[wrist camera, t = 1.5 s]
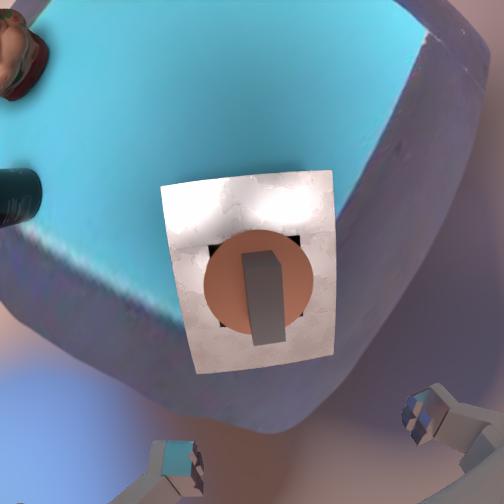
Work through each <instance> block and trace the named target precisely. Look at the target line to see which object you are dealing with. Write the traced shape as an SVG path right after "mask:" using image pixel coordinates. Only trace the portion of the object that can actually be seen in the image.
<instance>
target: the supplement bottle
mask: <svg viewBox="0 0 504 504" xmlns="http://www.w3.org/2000/svg"><path fill="white" fill-rule="evenodd" d="M40 200H41V187H40V182H39V180H38V177H37V176H36V174H35V173H34V172H33V171H31V170H29V169H0V229H1V228H4V227H7V226H11V225H14V224H18V223H21V222H25V221H27V220H29V219H31V218H32V217H33V216H34V215H35V213H36V212H37V210H38V208H39V205H40Z"/></svg>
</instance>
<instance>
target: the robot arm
mask: <svg viewBox="0 0 504 504" xmlns="http://www.w3.org/2000/svg"><path fill="white" fill-rule="evenodd" d="M406 404H407V405H406V406H405V408H404V409H403V410H402V413H401V421H402V423H403V426H404V427H405V429H407V430H410V431H411V435H410V436H411V437H412V439H413V440H414V442H415V443H416V444H417V446H418V445H421V444H423V443H425V442H427V441H429V440H431V439H433V438H434V440H436V441H438V442H440V443H442V444H444V445H446V446H449V447H451V448H453V449H455V450H457V451H459V452H462V453H464V454H465V455H464V457H463V458H462V459H461V460H460V462H459V466H460V467H461V469H462V470H463V471H464V473H465V474H464V475H463V476H461V477H460V478H459V479H457V480H455V481H454V482H452V483H451V484H450V485H448V486H446V487H445V488H443V489H442V490H440V491H438V492H437V493H435V494H433V495H432V496H430V497H428V498H426V499H424V500H423V501H421V502H419V503H417V504H504V414H503V413H499V412H495V411H491V410H487V409H483V408H479V407H476V406H471V405H468V404H464V403H461V404H459V403H458V402H457V401H456V400H455V399H454V398H453V397H452V396H451V394H450V393H449V392H448V391H447V390H446V389H445V388H444V387H443V386H442V385H441V384H439V383H436V384H434V385H432V386H430V387H428V388H425V389H423V390H421V391H419V392H416V393H414V394H412V395H409V397H407V399H406ZM203 474H204V462H203V457H202V455H201V453H200V452H199V451H198V446H197V444H196V442H195V441H162V440H161V441H160V440H154V442H153V443H152V448H151V452H150V457H149V462H148V468H147V473H146V474H142V475H141V476H140V477H139V478H138V479H136V480H135V481H134V482H133V483H132V484H131V485H130V486H128V487H127V488H126V489H125V490H124V491H123V492H121V494H119V495H118V496H117V497H116V498H114V499H113V500H112V501H111V502H110V503H108V504H177V502H178V501H179V500H180V499H181V496H204V482H203V480H202V478H201V476H202V475H203ZM17 504H23V503H17Z"/></svg>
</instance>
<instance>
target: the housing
mask: <svg viewBox="0 0 504 504" xmlns="http://www.w3.org/2000/svg"><path fill="white" fill-rule="evenodd" d="M161 194H162V202H163V210H164V217H165V224H166V231H167V237H168V244H169V250H170V256H171V261H172V267H173V273H174V278H175V283H176V288H177V293H178V298H179V303H180V308H181V312H182V317H183V321H184V325H185V330H186V334H187V338H188V342H189V346H190V350H191V354H192V358H193V362H194V366H195V370H196V373H197V374H204V373H216V372H227V371H236V370H245V369H253V368H260V367H267V366H274V365H280V364H286V363H292V362H298V361H303V360H308V359H313V358H318V357H323V356H328V355H332V354H333V351H334V335H335V311H336V231H335V207H334V190H333V176H332V170H318V171H298V172H283V173H269V174H257V175H246V176H236V177H227V178H218V179H210V180H202V181H195V182H188V183H181V184H174V185H167V186H161ZM251 230H269V231H273V232H277V233H280V234H282V235H284V236H286V237H288V238H289V239H291V240H292V241H294V242H295V243H296V244H297V245H298V246H299V247H300V248H301V249H302V250H303V251H304V253H305V254H306V256H307V257H308V259H309V261H310V264H311V266H312V271H313V278H314V283H313V291H312V295H311V298H310V301H309V303H308V305H307V306H306V308H305V310H304V311H303V312H302V314H301V315H300V316H299V317H298V318H297V319H296V320H295V321H294V322H292V323H291V324H290V325H288V326H286V327H285V333H286V342H279V343H273V344H266V345H259V346H254V345H253V340H252V335H249V334H243V333H240V332H237V331H234V330H232V329H230V328H228V327H226V326H225V325H224V324H222V323H221V322H220V321H219V320H218V319H217V318H216V317H215V316H214V315H213V313H212V312H211V310H210V309H209V307H208V305H207V302H206V299H205V295H204V287H203V286H204V276H205V271H206V268H207V265H208V262H209V260H210V258H211V257H212V255H213V254H214V252H215V251H216V250H217V249H218V247H219V246H220V245H222V244H223V243H224V242H225V241H226V240H228V239H230V238H231V237H233V236H235V235H237V234H240V233H243V232H246V231H251Z"/></svg>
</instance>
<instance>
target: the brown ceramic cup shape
mask: <svg viewBox="0 0 504 504" xmlns="http://www.w3.org/2000/svg"><path fill="white" fill-rule="evenodd" d="M47 59H48V48H47V45H46V44H45V42H44V41H43V40H42V39H41V38H40V37H39V36H37V35H35V34H34V33H33V32H31V31H30V30H29V29H28V28H27V24H26V21H25V18H24V17H23V16H22V15H21V14H20V13H19V12H17V11H16V10H13V9H0V97H4V98H5V99H7V100H8V101H14V100H16V99H19V98H20V97H22V96H23V95H24V94H25V93H26V92H27V91H28V90H29V89H30V88H31V87H32V86H33V85H34V84H35V82H36V81H37V79H38V78H39V76H40V75H41V73H42V71H43V69H44V67H45V65H46V62H47Z"/></svg>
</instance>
